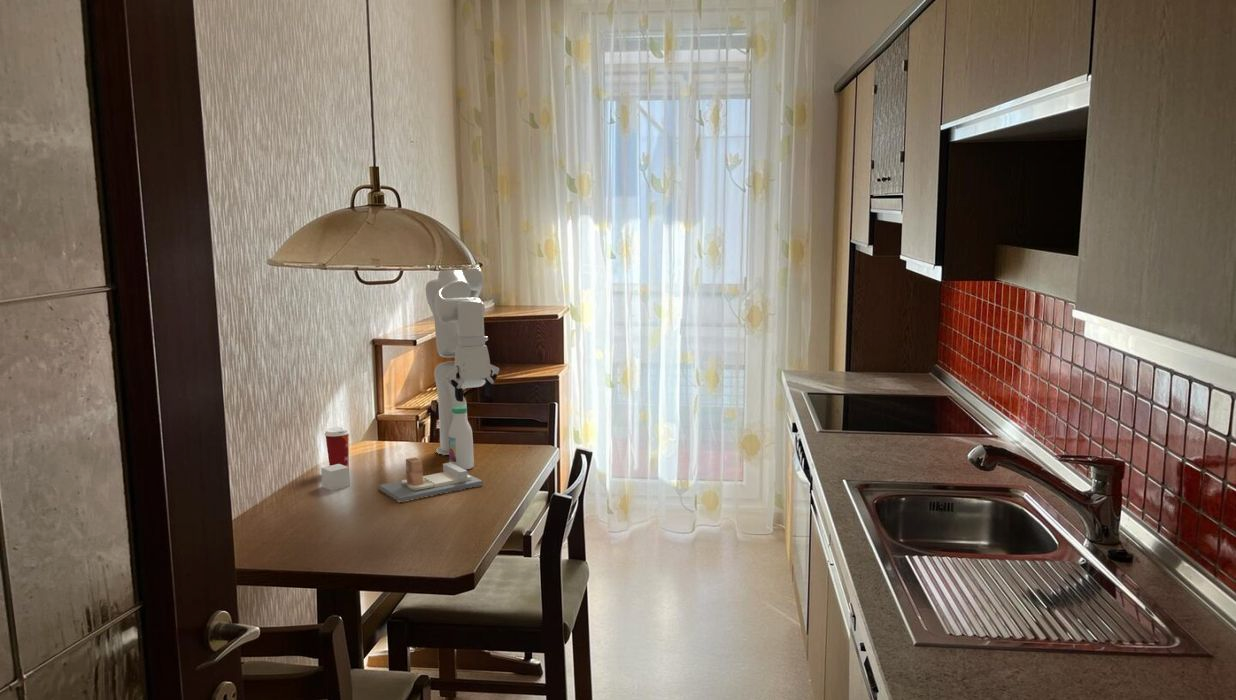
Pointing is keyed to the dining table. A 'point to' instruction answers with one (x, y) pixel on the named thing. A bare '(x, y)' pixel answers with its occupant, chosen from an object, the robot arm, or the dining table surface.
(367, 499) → the dining table surface
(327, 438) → the paper cup
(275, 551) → the dining table surface
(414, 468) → the stub
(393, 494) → the holder
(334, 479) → the white cube
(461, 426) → the milk bottle
